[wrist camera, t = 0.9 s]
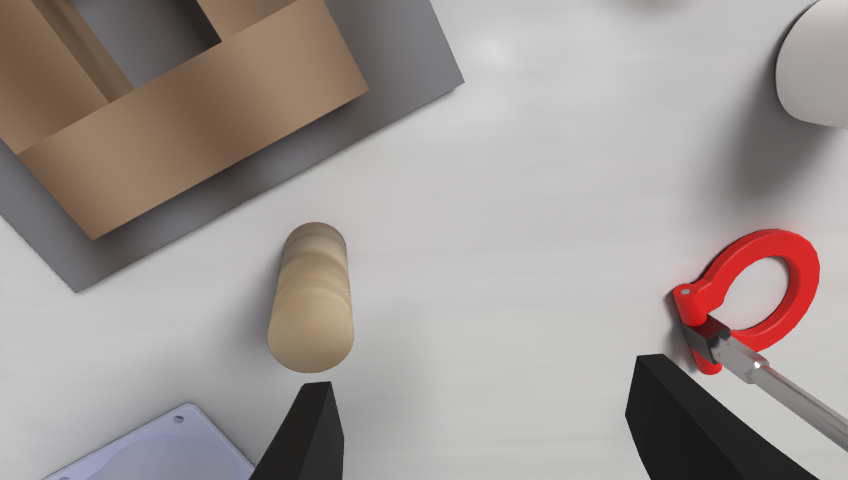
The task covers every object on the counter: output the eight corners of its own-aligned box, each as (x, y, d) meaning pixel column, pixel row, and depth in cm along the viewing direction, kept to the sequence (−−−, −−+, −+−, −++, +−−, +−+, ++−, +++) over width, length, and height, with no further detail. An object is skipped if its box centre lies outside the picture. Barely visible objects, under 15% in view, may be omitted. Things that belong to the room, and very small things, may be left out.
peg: (305, 287, 26) (297, 386, 18) (272, 240, 24) (249, 326, 17) (357, 259, 25) (368, 348, 18) (326, 211, 24) (326, 285, 17)
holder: (85, 283, 23) (40, 328, 20) (-253, -78, 17) (-413, -110, 13) (459, 80, 23) (484, 88, 19) (263, -368, 16) (245, -484, 13)
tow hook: (792, 200, 30) (661, 280, 29) (1115, 299, 18) (898, 432, 18) (811, 303, 33) (693, 374, 33) (1092, 442, 21) (910, 555, 21)
